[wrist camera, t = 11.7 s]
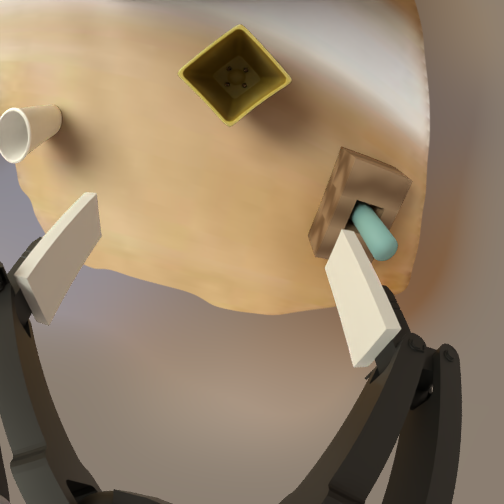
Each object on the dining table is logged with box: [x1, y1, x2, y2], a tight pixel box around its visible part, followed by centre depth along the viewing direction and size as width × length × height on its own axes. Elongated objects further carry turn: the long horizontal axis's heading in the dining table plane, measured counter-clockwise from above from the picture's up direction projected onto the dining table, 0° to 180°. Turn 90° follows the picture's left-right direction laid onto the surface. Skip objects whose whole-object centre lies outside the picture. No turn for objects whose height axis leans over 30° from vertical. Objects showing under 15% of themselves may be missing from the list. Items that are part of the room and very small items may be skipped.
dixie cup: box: [0, 104, 62, 163], centre depth 28 cm, size 8×8×10 cm
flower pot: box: [178, 24, 292, 127], centre depth 27 cm, size 9×9×9 cm
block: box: [308, 147, 412, 263], centre depth 40 cm, size 16×10×6 cm, turn 166°
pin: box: [350, 200, 398, 261], centre depth 36 cm, size 4×4×12 cm
